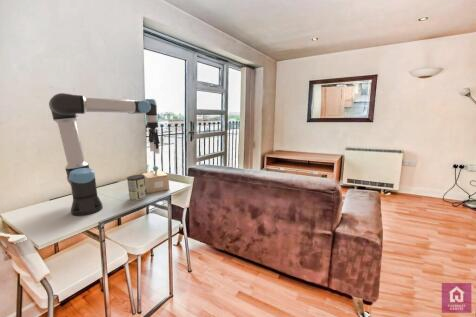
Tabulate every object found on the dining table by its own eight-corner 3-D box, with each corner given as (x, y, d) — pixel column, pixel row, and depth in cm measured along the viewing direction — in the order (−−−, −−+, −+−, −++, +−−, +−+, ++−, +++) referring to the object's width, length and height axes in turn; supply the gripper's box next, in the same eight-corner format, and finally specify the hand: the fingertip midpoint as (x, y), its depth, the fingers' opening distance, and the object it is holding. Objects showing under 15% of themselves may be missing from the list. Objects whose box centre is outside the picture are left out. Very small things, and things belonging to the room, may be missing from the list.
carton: (149, 193, 163) (147, 178, 161) (143, 187, 178) (141, 173, 176) (169, 189, 171) (168, 175, 169) (162, 184, 186) (160, 170, 184)
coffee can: (134, 195, 160) (132, 174, 158) (149, 195, 159) (147, 174, 157) (126, 200, 150) (123, 178, 148) (141, 200, 149) (139, 178, 147)
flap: (156, 177, 165) (155, 168, 164) (150, 173, 179) (149, 164, 178) (167, 175, 169) (167, 166, 168) (161, 171, 183) (160, 163, 182)
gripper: (162, 122, 158) (165, 153, 162) (153, 121, 179) (155, 149, 182) (150, 122, 154) (153, 155, 158) (142, 122, 175) (145, 150, 179)
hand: (154, 152), depth 170 cm, fingers open, 13 cm apart
